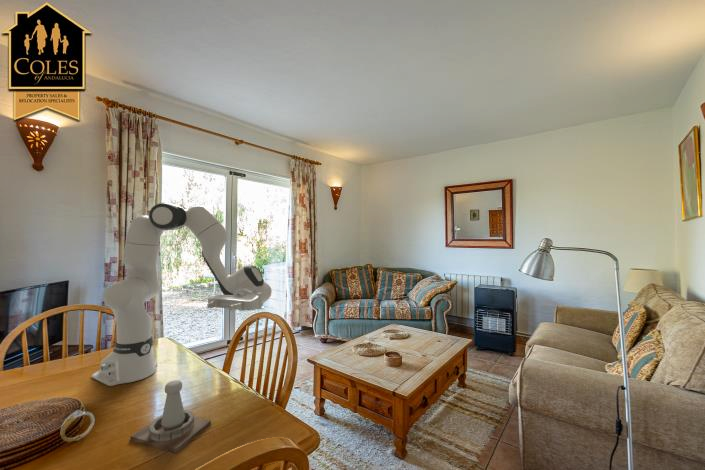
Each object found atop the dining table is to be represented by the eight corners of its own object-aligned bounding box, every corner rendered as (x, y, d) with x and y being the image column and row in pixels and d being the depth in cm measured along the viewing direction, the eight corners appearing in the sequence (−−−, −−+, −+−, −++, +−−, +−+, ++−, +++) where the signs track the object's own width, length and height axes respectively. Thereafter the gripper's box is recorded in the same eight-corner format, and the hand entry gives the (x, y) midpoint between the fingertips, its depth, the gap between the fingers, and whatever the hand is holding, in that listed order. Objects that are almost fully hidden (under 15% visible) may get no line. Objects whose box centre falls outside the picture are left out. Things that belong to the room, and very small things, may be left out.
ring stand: (130, 440, 81) (130, 428, 81) (169, 414, 92) (169, 404, 92) (176, 453, 76) (176, 441, 76) (210, 424, 88) (210, 413, 88)
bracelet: (61, 449, 77) (61, 419, 77) (59, 444, 79) (59, 414, 79) (96, 435, 83) (96, 406, 83) (92, 430, 85) (92, 402, 85)
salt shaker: (168, 437, 80) (168, 390, 80) (156, 430, 83) (157, 384, 83) (189, 425, 85) (189, 380, 85) (177, 419, 88) (177, 375, 88)
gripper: (222, 289, 124) (196, 296, 110) (265, 292, 118) (243, 300, 104) (222, 304, 124) (196, 313, 110) (265, 308, 118) (242, 318, 105)
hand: (219, 307), depth 107 cm, fingers open, 8 cm apart
